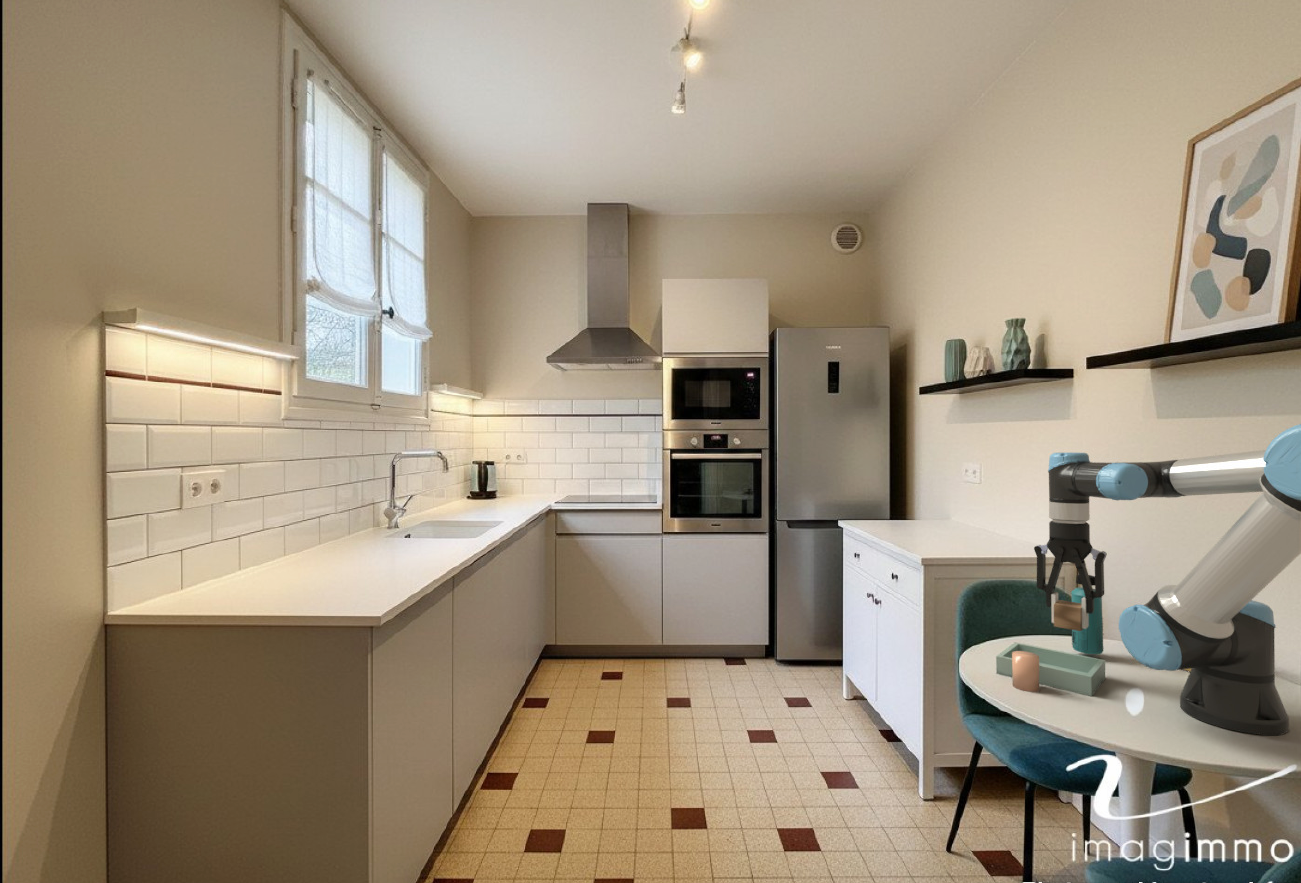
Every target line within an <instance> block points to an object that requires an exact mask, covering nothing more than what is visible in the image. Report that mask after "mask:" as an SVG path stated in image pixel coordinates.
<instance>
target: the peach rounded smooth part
mask: <svg viewBox="0 0 1301 883" xmlns="http://www.w3.org/2000/svg"><path fill="white" fill-rule="evenodd" d="M1011 678H1012V687H1013V688H1015V689H1016V690H1019V691H1022V692H1028V693H1029V692H1031V693H1036V692H1039V691H1040V685H1041V684H1040V683H1039V656H1038V655H1037V654H1034V653H1031V652H1026V651H1014V652H1012V677H1011Z"/></svg>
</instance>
